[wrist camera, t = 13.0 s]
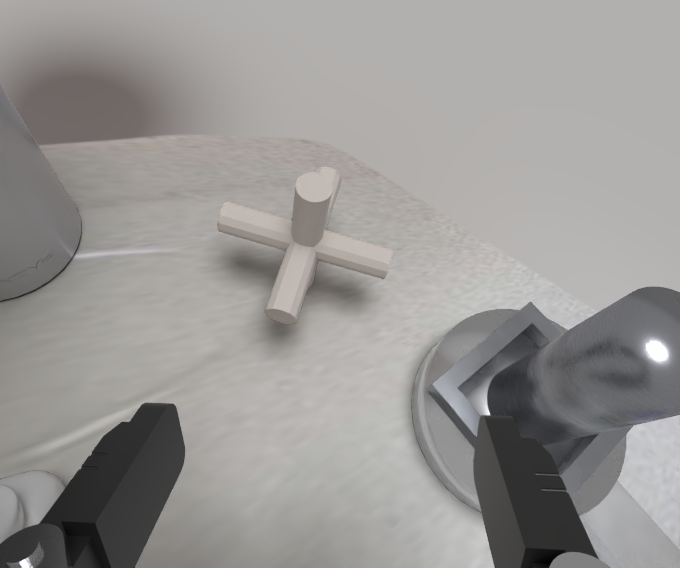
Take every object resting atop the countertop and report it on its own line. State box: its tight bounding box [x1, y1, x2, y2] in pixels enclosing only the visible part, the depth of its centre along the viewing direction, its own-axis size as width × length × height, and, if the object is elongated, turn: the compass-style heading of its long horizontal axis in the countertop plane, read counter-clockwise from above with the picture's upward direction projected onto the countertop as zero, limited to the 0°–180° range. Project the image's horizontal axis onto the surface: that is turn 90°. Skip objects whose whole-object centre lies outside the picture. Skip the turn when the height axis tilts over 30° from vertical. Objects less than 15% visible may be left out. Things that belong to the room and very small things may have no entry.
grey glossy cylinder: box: [487, 287, 680, 446], centre depth 21 cm, size 5×5×11 cm
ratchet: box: [412, 302, 680, 568], centre depth 25 cm, size 27×12×4 cm, turn 38°
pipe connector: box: [218, 166, 393, 324], centre depth 27 cm, size 10×10×10 cm
